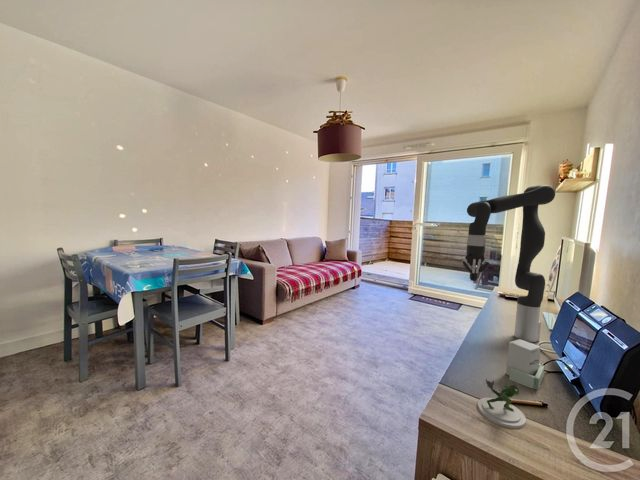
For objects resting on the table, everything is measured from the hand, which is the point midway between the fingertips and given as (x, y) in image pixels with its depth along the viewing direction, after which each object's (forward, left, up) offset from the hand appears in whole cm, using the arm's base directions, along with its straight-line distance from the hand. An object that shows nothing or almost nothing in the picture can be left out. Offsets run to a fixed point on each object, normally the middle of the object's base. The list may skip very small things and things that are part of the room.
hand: (473, 280), depth 131 cm
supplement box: (-3, +31, -29) cm, 43 cm away
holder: (-5, +32, -29) cm, 43 cm away
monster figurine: (+17, +52, -29) cm, 62 cm away
